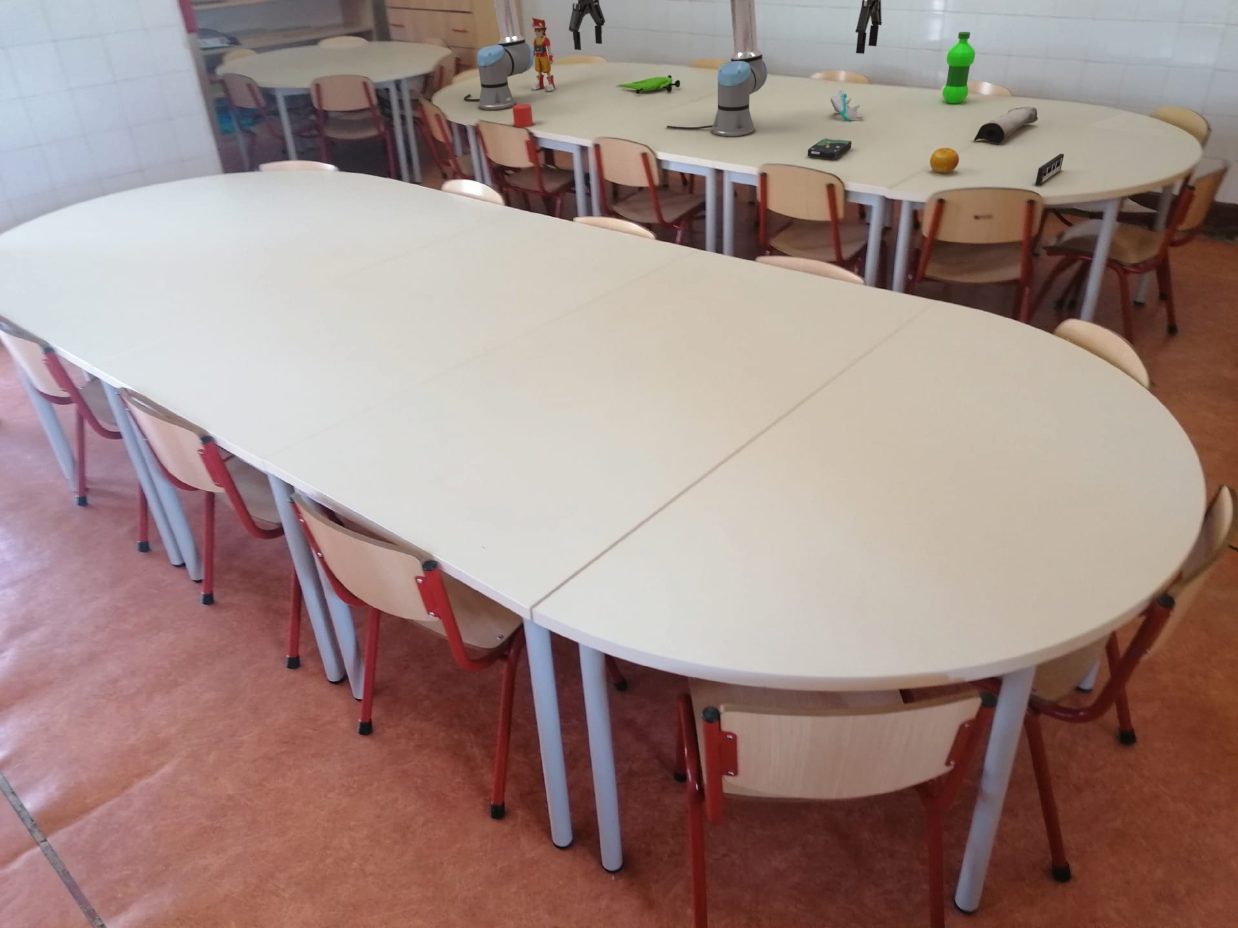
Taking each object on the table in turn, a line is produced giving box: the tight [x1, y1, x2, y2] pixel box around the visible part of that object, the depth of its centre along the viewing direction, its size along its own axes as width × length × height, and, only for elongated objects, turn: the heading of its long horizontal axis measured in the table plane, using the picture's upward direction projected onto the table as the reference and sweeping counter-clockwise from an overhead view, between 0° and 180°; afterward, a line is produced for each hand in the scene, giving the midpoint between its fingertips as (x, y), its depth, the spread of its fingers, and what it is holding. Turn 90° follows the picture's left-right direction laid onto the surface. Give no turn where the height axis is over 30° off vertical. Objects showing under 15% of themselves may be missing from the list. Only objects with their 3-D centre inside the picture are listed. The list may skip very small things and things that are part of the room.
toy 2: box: [617, 74, 681, 95], centre depth 401 cm, size 28×5×30 cm
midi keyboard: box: [1035, 153, 1065, 186], centre depth 273 cm, size 18×1×5 cm, turn 138°
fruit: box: [929, 147, 960, 174], centre depth 283 cm, size 8×8×8 cm
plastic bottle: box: [942, 31, 976, 104], centre depth 348 cm, size 10×10×25 cm
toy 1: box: [529, 17, 556, 92], centre depth 403 cm, size 12×9×30 cm
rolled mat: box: [973, 106, 1039, 145], centre depth 314 cm, size 30×9×10 cm
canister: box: [511, 103, 534, 128], centre depth 359 cm, size 8×8×7 cm
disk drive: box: [807, 138, 852, 160], centre depth 306 cm, size 10×3×15 cm
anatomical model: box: [830, 89, 864, 121], centre depth 343 cm, size 15×10×10 cm
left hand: (588, 46), depth 360 cm, fingers open, 13 cm apart
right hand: (866, 49), depth 312 cm, fingers open, 13 cm apart
